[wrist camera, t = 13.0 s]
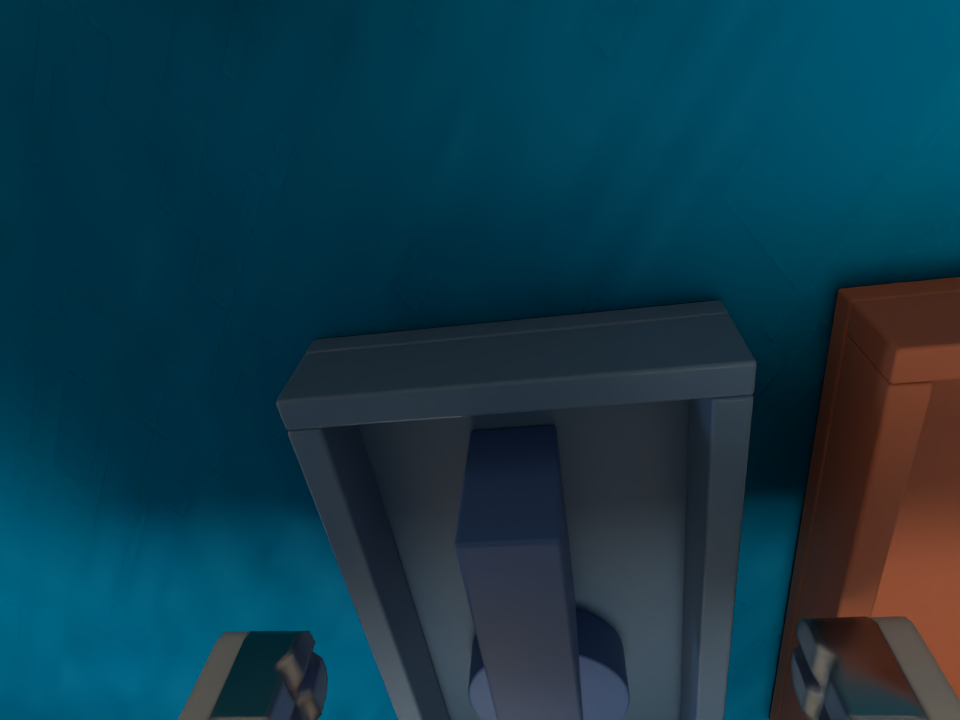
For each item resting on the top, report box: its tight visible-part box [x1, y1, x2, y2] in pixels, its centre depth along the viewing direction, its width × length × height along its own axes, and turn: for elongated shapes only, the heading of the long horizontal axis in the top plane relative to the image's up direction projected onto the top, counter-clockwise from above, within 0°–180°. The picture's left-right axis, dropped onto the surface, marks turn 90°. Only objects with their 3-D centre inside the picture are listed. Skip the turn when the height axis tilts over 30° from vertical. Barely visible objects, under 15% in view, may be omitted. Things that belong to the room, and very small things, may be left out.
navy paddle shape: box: [454, 425, 630, 720], centre depth 12 cm, size 9×4×3 cm, turn 9°
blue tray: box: [276, 300, 757, 720], centre depth 13 cm, size 13×7×2 cm, turn 9°
